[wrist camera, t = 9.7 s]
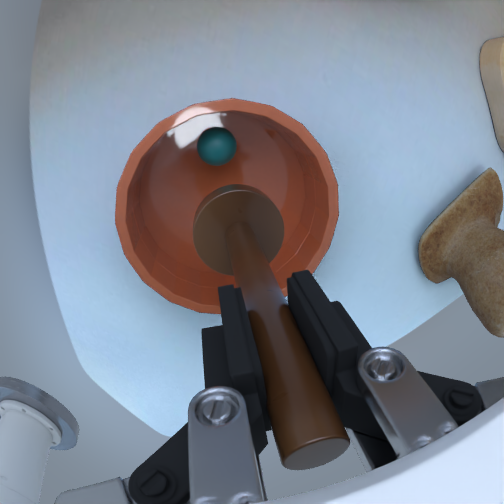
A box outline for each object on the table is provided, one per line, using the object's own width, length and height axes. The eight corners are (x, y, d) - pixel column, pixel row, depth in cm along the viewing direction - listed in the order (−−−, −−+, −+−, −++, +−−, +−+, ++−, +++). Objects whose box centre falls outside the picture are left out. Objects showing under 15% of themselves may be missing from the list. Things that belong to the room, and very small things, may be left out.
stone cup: (427, 297, 36) (498, 367, 22) (402, 232, 30) (501, 304, 17) (495, 231, 34) (569, 277, 20) (480, 161, 29) (575, 198, 15)
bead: (200, 166, 24) (200, 171, 21) (194, 130, 22) (193, 131, 20) (236, 160, 24) (241, 165, 21) (231, 124, 23) (236, 124, 20)
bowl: (156, 289, 28) (149, 328, 23) (116, 125, 22) (93, 127, 16) (314, 260, 30) (338, 292, 25) (302, 96, 23) (331, 91, 18)
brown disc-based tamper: (201, 270, 19) (223, 506, 6) (185, 191, 17) (160, 419, 4) (281, 256, 20) (393, 460, 7) (273, 177, 18) (449, 342, 5)
